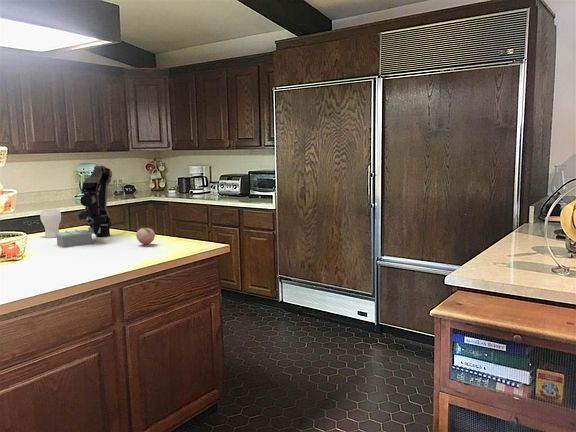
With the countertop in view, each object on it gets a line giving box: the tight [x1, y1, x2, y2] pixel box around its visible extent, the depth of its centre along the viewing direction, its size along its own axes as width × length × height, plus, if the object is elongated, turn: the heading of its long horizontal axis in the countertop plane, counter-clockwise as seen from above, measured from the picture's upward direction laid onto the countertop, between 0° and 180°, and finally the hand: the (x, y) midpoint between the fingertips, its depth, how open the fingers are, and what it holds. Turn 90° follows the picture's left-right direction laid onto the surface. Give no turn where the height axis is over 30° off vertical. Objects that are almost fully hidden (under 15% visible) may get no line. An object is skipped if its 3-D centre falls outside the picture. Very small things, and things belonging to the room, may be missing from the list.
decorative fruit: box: [135, 227, 156, 246], centre depth 241 cm, size 9×8×10 cm
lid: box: [56, 226, 100, 237], centre depth 244 cm, size 20×11×3 cm, turn 131°
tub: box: [56, 234, 93, 249], centre depth 243 cm, size 14×10×6 cm
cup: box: [39, 208, 62, 239], centre depth 269 cm, size 11×11×15 cm
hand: (94, 234), depth 249 cm, fingers closed on lid, 3 cm apart
